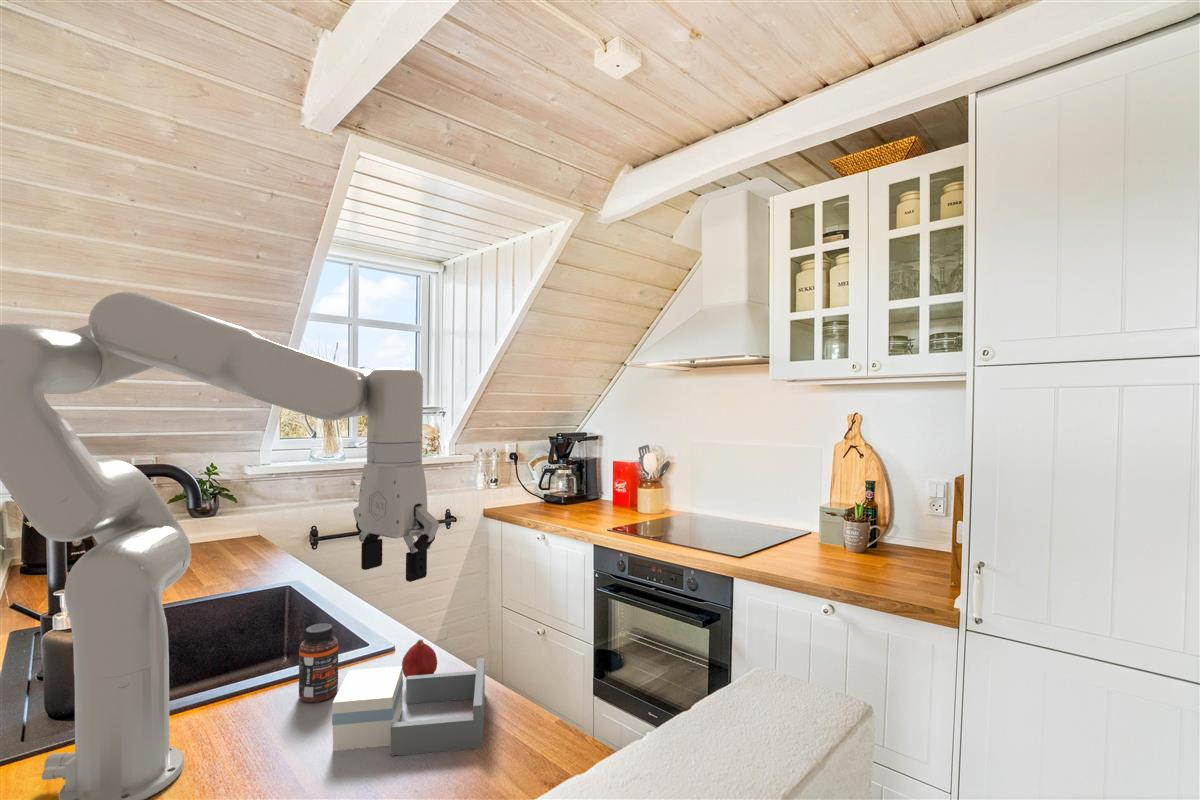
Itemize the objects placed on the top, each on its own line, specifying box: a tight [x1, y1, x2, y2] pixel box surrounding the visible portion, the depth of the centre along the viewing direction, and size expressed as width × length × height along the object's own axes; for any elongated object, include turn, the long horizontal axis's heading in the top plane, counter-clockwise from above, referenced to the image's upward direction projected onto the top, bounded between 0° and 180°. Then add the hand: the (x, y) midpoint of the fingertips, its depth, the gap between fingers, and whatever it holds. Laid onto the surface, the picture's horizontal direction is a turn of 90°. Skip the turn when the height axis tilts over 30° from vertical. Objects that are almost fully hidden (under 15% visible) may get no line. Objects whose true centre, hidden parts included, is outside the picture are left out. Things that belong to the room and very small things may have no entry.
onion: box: [401, 638, 438, 679], centre depth 104 cm, size 6×6×8 cm
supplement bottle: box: [298, 623, 339, 703], centre depth 100 cm, size 6×6×11 cm
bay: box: [390, 657, 486, 757], centre depth 92 cm, size 12×15×6 cm
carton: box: [331, 665, 404, 752], centre depth 90 cm, size 8×10×7 cm
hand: (393, 573), depth 86 cm, fingers open, 9 cm apart
